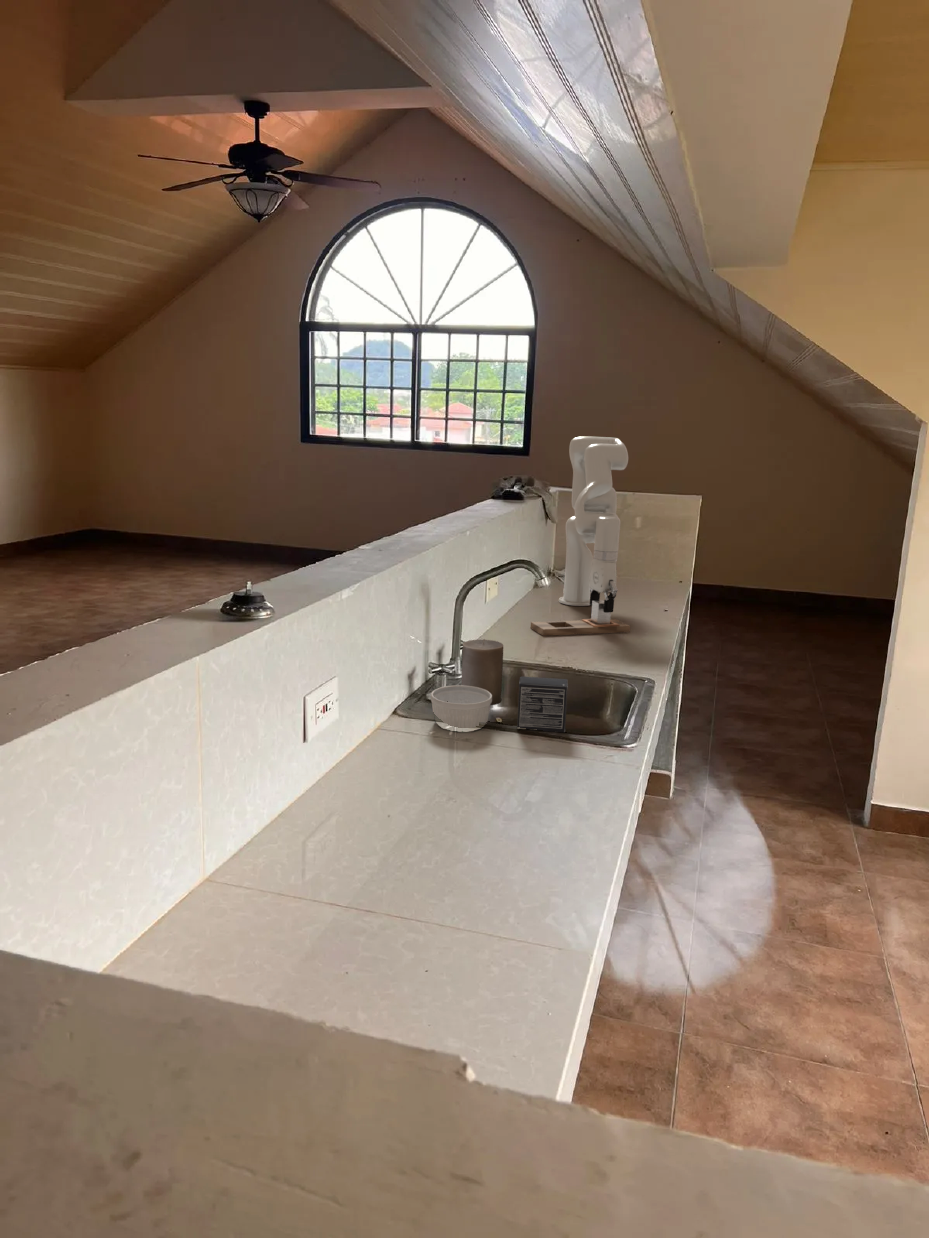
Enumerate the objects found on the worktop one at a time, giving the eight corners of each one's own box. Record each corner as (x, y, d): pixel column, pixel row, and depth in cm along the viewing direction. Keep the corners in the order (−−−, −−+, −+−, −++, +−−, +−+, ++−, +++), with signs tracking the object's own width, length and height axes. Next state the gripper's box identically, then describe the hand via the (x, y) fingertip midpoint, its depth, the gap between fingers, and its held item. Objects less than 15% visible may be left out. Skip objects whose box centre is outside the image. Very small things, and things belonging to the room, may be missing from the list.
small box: (565, 723, 201) (568, 677, 198) (565, 733, 194) (568, 686, 192) (517, 719, 202) (520, 674, 199) (516, 729, 195) (518, 683, 193)
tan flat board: (530, 628, 288) (530, 620, 287) (615, 624, 297) (615, 617, 296) (542, 635, 278) (543, 628, 278) (629, 632, 288) (630, 624, 287)
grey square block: (590, 627, 291) (592, 600, 289) (602, 627, 293) (605, 600, 291) (596, 631, 287) (598, 603, 285) (609, 630, 289) (611, 603, 287)
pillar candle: (508, 698, 216) (511, 637, 213) (488, 709, 208) (491, 645, 204) (473, 691, 221) (475, 631, 217) (452, 701, 212) (454, 639, 209)
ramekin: (437, 736, 189) (439, 705, 188) (423, 716, 202) (424, 686, 200) (498, 733, 193) (499, 702, 191) (480, 713, 205) (482, 683, 204)
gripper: (582, 551, 291) (578, 602, 296) (607, 561, 276) (602, 615, 280) (603, 550, 294) (599, 602, 298) (629, 560, 278) (624, 614, 282)
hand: (601, 608), depth 289 cm, fingers open, 9 cm apart
